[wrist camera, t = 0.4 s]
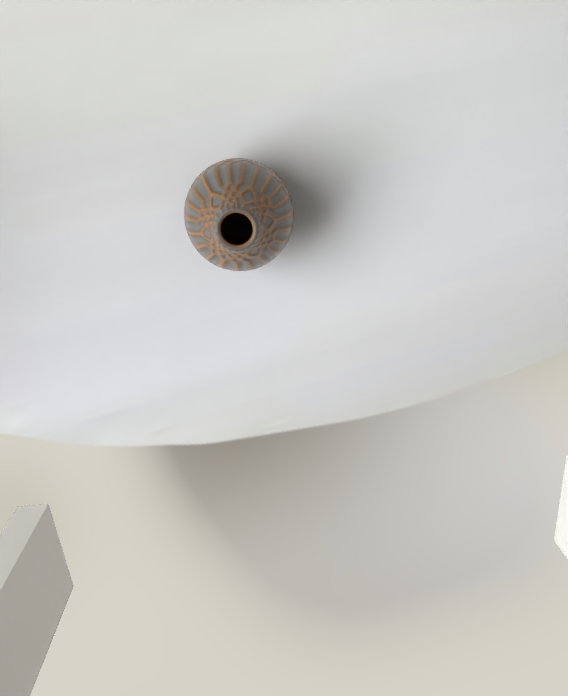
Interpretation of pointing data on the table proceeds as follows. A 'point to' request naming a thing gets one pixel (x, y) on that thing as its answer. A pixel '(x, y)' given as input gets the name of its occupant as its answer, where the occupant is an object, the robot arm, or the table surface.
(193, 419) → the table surface
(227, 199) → the vase
